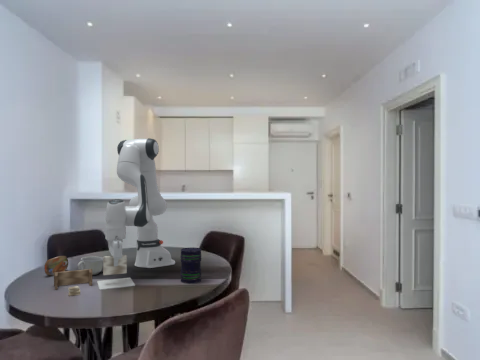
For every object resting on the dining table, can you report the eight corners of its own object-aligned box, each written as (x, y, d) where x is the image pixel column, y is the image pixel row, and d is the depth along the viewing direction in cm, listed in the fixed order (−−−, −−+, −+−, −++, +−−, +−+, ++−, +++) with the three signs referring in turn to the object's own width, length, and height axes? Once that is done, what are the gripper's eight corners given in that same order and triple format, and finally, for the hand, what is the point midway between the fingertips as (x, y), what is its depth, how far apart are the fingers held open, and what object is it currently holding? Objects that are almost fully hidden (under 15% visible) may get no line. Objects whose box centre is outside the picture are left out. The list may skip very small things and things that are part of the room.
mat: (130, 278, 177) (130, 277, 177) (135, 285, 164) (135, 284, 164) (97, 281, 171) (97, 281, 171) (99, 290, 158) (99, 289, 158)
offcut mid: (79, 291, 155) (79, 288, 155) (80, 293, 152) (80, 290, 152) (68, 292, 152) (68, 289, 152) (69, 294, 150) (69, 291, 150)
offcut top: (77, 288, 154) (77, 285, 154) (79, 290, 152) (79, 287, 152) (68, 290, 152) (68, 287, 152) (70, 291, 150) (70, 288, 150)
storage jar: (181, 278, 178) (181, 247, 178) (201, 277, 179) (201, 247, 179) (179, 283, 168) (179, 251, 168) (201, 283, 169) (201, 251, 169)
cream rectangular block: (125, 272, 170) (126, 254, 171) (126, 273, 168) (126, 255, 168) (103, 274, 166) (103, 256, 166) (103, 275, 164) (103, 257, 164)
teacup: (95, 270, 193) (95, 255, 193) (107, 273, 187) (107, 257, 187) (70, 275, 182) (70, 259, 182) (82, 279, 176) (82, 262, 176)
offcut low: (79, 294, 155) (79, 291, 155) (80, 296, 151) (80, 293, 151) (68, 295, 153) (68, 292, 153) (68, 297, 150) (68, 295, 150)
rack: (92, 281, 171) (92, 268, 171) (93, 285, 165) (93, 272, 165) (54, 285, 164) (54, 272, 164) (53, 290, 158) (53, 276, 158)
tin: (48, 277, 178) (48, 260, 178) (43, 277, 179) (43, 260, 179) (68, 270, 193) (68, 254, 193) (63, 269, 194) (63, 254, 194)
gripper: (126, 237, 159) (125, 269, 159) (119, 231, 178) (119, 260, 178) (110, 238, 157) (110, 270, 157) (106, 232, 175) (105, 261, 175)
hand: (115, 265), depth 167 cm, fingers closed on cream rectangular block, 2 cm apart
